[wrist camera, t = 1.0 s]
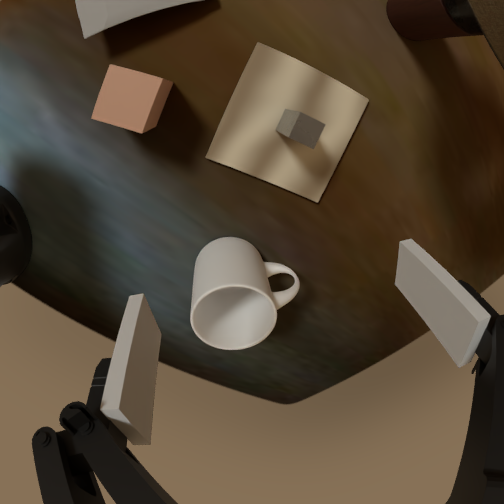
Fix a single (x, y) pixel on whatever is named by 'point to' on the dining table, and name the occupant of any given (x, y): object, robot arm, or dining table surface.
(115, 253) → the dining table surface
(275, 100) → the board
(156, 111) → the pink rectangular block
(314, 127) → the post
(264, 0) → the dining table surface
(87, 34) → the book
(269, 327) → the mug
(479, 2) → the lamp
